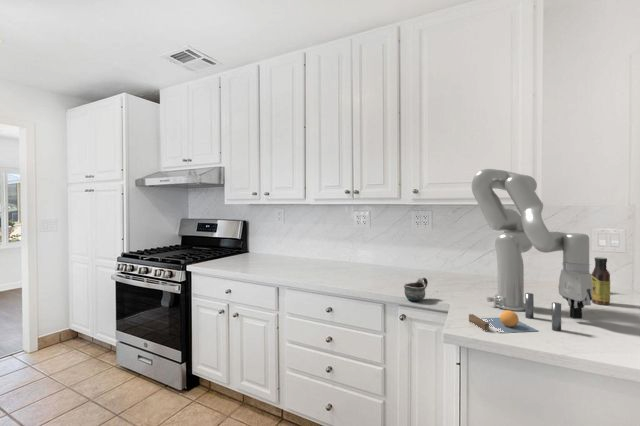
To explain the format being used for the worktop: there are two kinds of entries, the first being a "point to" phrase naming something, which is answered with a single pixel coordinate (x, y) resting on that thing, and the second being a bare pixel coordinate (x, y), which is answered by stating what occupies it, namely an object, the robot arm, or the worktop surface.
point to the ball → (509, 318)
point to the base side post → (529, 305)
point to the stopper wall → (478, 322)
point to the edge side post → (556, 316)
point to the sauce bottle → (601, 282)
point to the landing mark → (518, 328)
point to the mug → (416, 289)
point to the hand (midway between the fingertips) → (575, 317)
